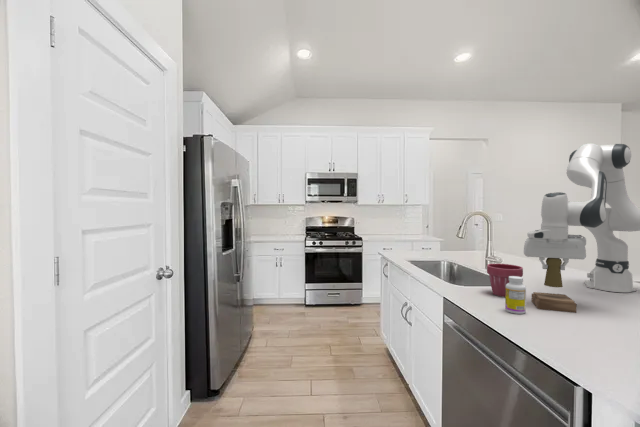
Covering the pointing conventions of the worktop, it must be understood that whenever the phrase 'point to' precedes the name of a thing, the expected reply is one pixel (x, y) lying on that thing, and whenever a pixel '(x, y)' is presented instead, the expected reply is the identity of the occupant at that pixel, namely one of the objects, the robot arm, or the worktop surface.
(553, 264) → the cork
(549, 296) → the walnut stand
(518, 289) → the supplement bottle
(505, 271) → the plant pot
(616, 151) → the robot arm
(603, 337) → the worktop surface
